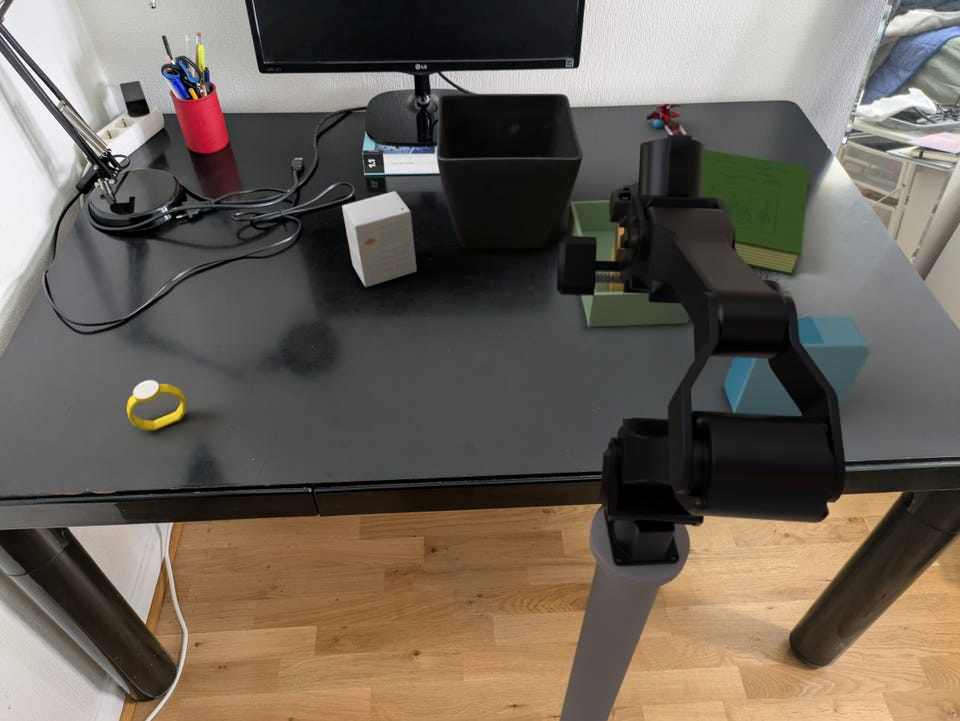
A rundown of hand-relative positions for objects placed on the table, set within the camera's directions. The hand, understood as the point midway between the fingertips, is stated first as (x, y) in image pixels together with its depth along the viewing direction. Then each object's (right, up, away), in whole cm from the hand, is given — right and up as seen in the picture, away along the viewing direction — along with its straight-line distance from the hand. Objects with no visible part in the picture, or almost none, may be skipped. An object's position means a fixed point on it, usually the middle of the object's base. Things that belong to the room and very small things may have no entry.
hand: (631, 276), depth 83 cm
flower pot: (-14, +11, +24) cm, 30 cm away
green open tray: (+2, +2, +16) cm, 16 cm away
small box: (-32, +3, +17) cm, 36 cm away
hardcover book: (+22, +12, +25) cm, 35 cm away
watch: (-55, -17, -2) cm, 57 cm away
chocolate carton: (+1, -2, +11) cm, 11 cm away
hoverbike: (+15, +31, +43) cm, 55 cm away
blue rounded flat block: (+17, -15, -1) cm, 23 cm away
